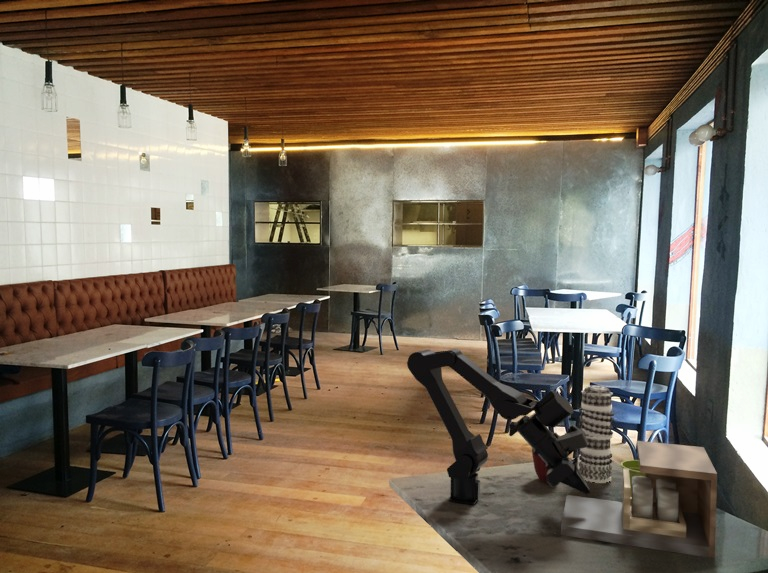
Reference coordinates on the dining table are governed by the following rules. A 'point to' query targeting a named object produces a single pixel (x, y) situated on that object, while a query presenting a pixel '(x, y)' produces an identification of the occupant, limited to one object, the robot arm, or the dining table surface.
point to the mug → (540, 467)
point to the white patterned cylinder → (596, 434)
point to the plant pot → (632, 470)
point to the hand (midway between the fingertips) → (588, 492)
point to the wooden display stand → (657, 463)
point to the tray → (649, 522)
